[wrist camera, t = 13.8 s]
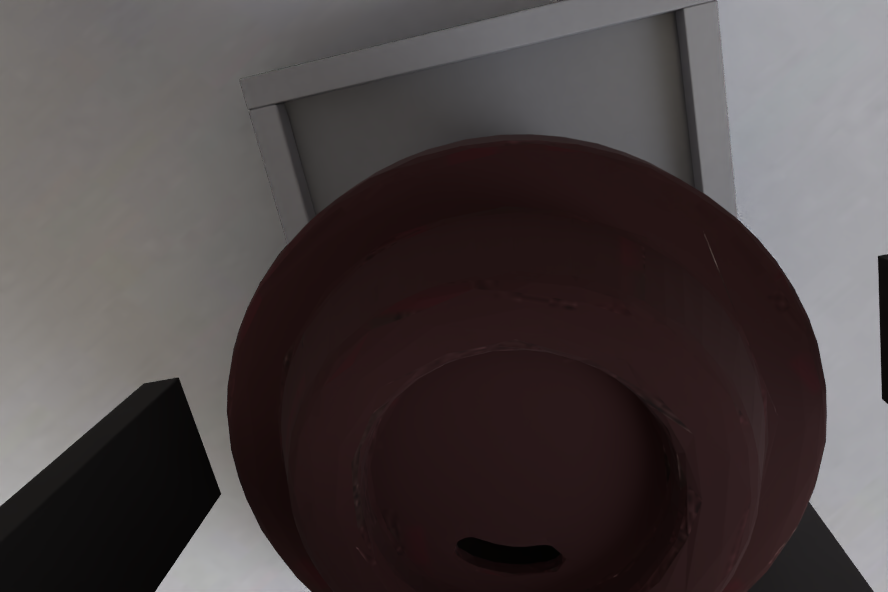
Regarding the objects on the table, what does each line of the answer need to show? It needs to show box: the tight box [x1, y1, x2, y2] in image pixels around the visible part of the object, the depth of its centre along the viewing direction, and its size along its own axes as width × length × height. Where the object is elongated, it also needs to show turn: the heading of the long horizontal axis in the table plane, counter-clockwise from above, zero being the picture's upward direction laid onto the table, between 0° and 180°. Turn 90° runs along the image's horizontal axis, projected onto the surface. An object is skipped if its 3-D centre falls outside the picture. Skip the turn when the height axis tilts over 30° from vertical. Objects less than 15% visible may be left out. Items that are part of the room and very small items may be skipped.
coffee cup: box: [227, 134, 827, 592], centre depth 17 cm, size 10×10×15 cm
